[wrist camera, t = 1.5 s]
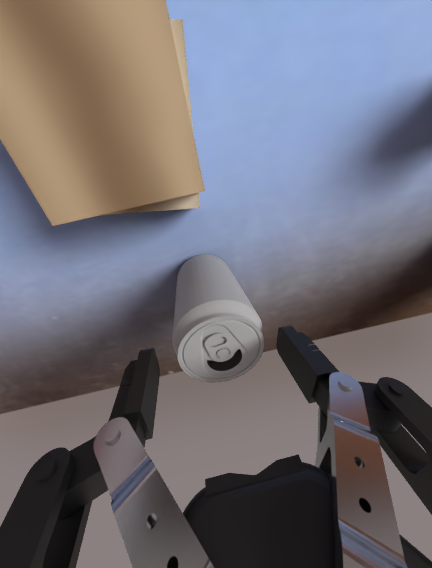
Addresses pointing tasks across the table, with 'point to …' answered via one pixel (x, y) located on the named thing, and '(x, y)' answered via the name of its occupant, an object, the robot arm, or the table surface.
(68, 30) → the tower top
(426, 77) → the table surface
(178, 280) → the beverage can
